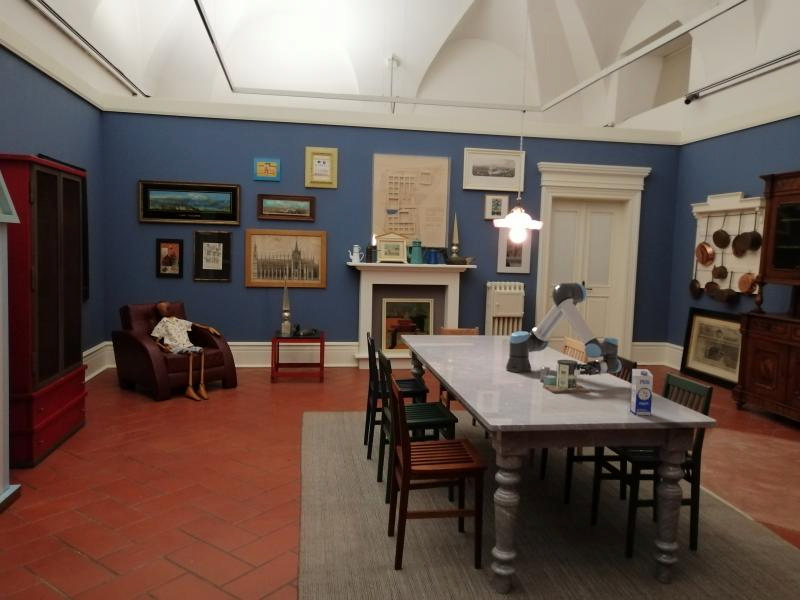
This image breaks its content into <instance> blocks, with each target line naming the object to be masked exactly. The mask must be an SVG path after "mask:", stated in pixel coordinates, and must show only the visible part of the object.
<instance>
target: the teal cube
mask: <svg viewBox="0 0 800 600" xmlns="http://www.w3.org/2000/svg"><path fill="white" fill-rule="evenodd" d="M543 385H557V376H554V375H552V374H551V375H549V376H544V383H543ZM543 385H542V386H543Z"/></svg>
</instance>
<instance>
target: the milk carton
mask: <svg viewBox="0 0 800 600" xmlns="http://www.w3.org/2000/svg"><path fill="white" fill-rule="evenodd" d="M653 382H654V376H653V374H652V373H651V372H650V370H648V369H647V368H644V369H641V368H632V369H631V390H630V410H629V412H630V413H631V412H632V413H631V414H633V415H634V416H635V415H638V417H639V416H641V417H643V416H644V417H646V416H645V415H648V416H647V417H651V416H652V400H653Z"/></svg>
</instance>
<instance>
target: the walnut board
mask: <svg viewBox="0 0 800 600" xmlns="http://www.w3.org/2000/svg"><path fill="white" fill-rule="evenodd" d="M556 386H557V385H542V388H543V389H545V390H546V391H549V392H551V393H552V394H573V393H572V392H584V393H590V389H588V388H586V387H584V386H582V385H580V384H578V383H576V389H574V390H565V389H559V388H557V387H556Z"/></svg>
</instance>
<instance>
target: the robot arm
mask: <svg viewBox="0 0 800 600" xmlns="http://www.w3.org/2000/svg"><path fill="white" fill-rule="evenodd" d="M551 294H552V295H551V296H552V297H551V298H552V301H553V303H554V305H553V306H552V307H551V309H550V310H549V311H548V312H547V314H546V315H545V316H544V317H543V319H542V320H541V322H540V323H539V324H538V325H537V326H535V327H533V328H532V329H531V330H530V332H528V331H521V330H520V331H514V332H512V333H510V335H509V349H508V350H509V351H508V352H509V356H508V359H507V362H506V366H505V370H506V369H507V370H509V371H508V372H511V371H513V372H512V373H518V372H526V373H530V372H532V365H531V362H530V359H529V358H530V353H534V352H542V351H544V350H545V349H547V347H548V346H549V343H550V342H549V340H550V335H551V333H552V332H553V331H554V330H555V328H556V327H558V325H559V323H560V322H561V321H562V319H564V317H565V318H566V319H567V321H568V322H569V324H570V326H571V327H572V328H573V330H574V332H575V333H576V335H577V336H578V338H579V339H580V340H581V342H582V343H583V346H585V347H584V353H585V356H587V358H591V359H594V358H595V359H596V360H590V361H588V362H587V363H578V364H577V370H574V375H575V376H576V375H577V376H584V375H585V376H587V375H588V376H596V375H599V376H601V375H603V374H604V375H605V374H614V373H615V374H616V373H618V372H620V371H621V370H622V367H623V366H622V363H621V360H620V359H618V353H619V352H618V351H619V340H618V339H617V338H615V337H604V338H603V340H602V342H600V340H598V338H597V336H596V335H595V333H594V332H593V330H592V328H591V327H590V326H589V324H588V323H587V321H586V320H585V319H584V317H583V315H582V314H581V312H580V311H579V310H578V308H577V307H576V306H577V305H578V304H580V303H582V302H583V303H584V301H586V299H587V298H586V297H587V290H586V287H585V286H584V285H583V284H582V283H579V282H561V283H558V284H556V286H554V288H553V290H552V293H551ZM601 357H602V359H600V360H599V359H597V358H601ZM507 370H506V371H507ZM556 371H557V367H556Z"/></svg>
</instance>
